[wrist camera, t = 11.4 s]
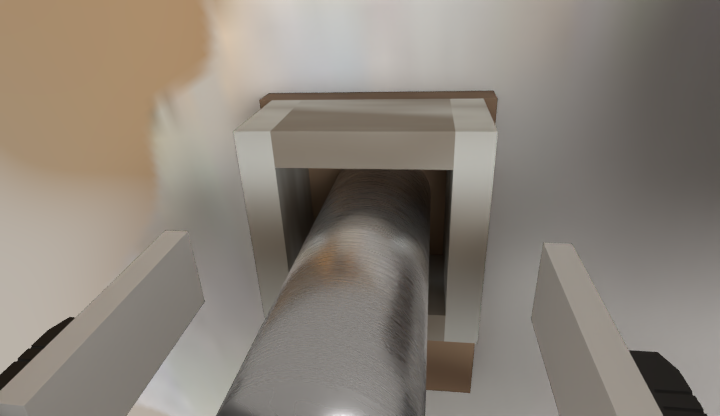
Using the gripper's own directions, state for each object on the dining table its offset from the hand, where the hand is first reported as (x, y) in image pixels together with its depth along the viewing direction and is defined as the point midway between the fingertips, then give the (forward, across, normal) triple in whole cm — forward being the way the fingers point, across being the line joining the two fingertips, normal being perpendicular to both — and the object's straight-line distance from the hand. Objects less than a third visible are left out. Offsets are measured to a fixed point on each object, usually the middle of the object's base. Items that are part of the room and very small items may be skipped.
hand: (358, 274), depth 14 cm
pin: (+6, 0, 0) cm, 6 cm away
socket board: (+7, 0, +4) cm, 8 cm away
